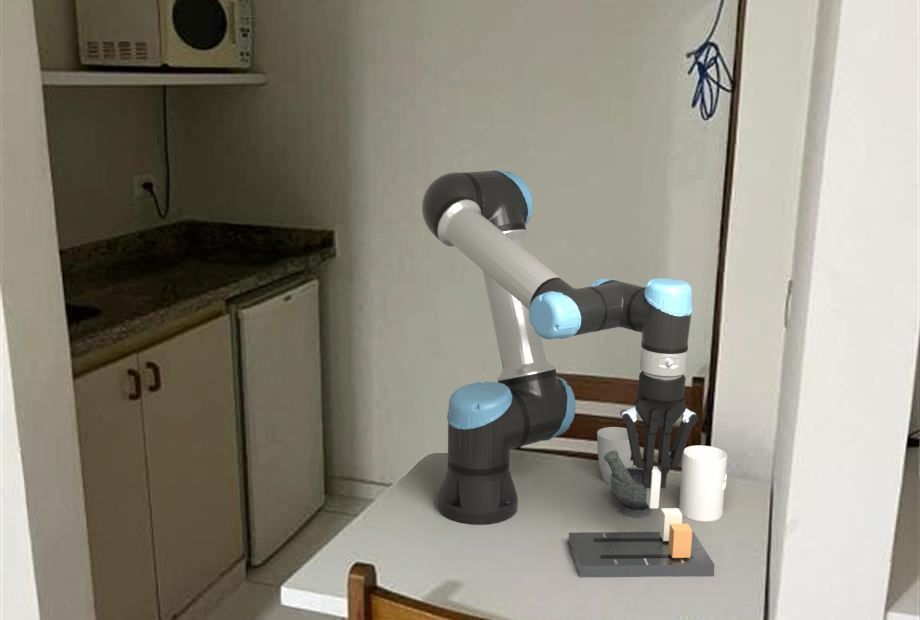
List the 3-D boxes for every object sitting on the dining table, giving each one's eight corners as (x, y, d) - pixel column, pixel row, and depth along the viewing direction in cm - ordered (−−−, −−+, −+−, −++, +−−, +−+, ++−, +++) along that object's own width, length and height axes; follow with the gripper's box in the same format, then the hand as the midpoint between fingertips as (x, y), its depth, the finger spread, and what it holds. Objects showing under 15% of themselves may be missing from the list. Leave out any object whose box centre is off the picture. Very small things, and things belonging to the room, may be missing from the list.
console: (579, 577, 150) (580, 565, 149) (568, 543, 161) (568, 532, 161) (713, 575, 151) (714, 564, 150) (692, 542, 162) (693, 531, 162)
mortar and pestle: (654, 500, 179) (658, 442, 177) (666, 521, 170) (670, 460, 168) (597, 500, 179) (599, 442, 176) (606, 522, 170) (609, 460, 167)
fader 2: (672, 557, 151) (674, 530, 150) (668, 550, 154) (669, 523, 153) (690, 557, 152) (692, 530, 151) (686, 550, 154) (687, 523, 153)
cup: (634, 489, 185) (637, 442, 182) (593, 485, 186) (596, 438, 184) (635, 474, 192) (637, 428, 190) (596, 470, 194) (598, 425, 192)
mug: (706, 494, 182) (710, 437, 180) (730, 521, 171) (735, 460, 168) (666, 496, 181) (669, 438, 179) (687, 522, 170) (692, 461, 167)
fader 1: (663, 541, 157) (665, 514, 156) (659, 534, 160) (661, 508, 159) (680, 540, 157) (682, 514, 156) (676, 534, 160) (678, 508, 159)
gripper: (628, 379, 148) (619, 514, 154) (708, 380, 149) (696, 514, 154) (618, 365, 156) (610, 495, 161) (694, 366, 156) (683, 495, 162)
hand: (652, 504), depth 158 cm, fingers closed
